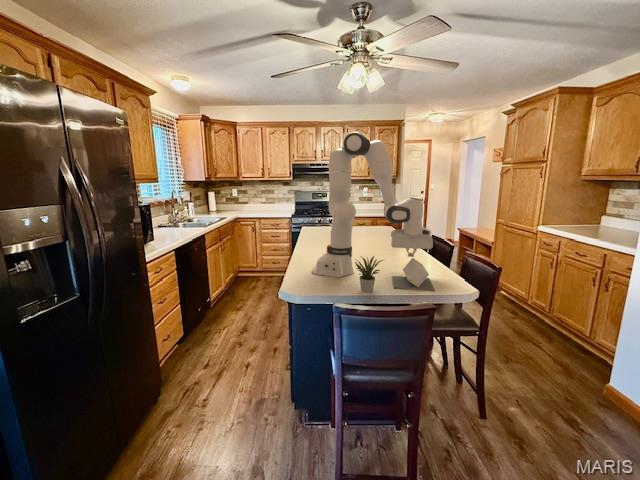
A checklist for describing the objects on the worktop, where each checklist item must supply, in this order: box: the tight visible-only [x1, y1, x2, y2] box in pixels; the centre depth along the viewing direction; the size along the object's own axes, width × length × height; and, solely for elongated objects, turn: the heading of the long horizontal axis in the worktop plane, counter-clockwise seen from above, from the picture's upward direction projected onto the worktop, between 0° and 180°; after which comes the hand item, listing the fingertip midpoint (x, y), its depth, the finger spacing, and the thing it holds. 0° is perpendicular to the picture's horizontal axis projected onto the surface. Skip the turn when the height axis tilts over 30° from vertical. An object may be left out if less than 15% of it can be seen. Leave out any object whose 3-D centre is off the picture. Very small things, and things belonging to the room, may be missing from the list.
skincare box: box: [402, 257, 430, 287], centre depth 144 cm, size 8×7×16 cm
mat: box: [391, 275, 436, 292], centre depth 144 cm, size 18×16×1 cm
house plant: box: [354, 255, 384, 294], centre depth 135 cm, size 14×14×16 cm
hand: (410, 256), depth 154 cm, fingers closed
